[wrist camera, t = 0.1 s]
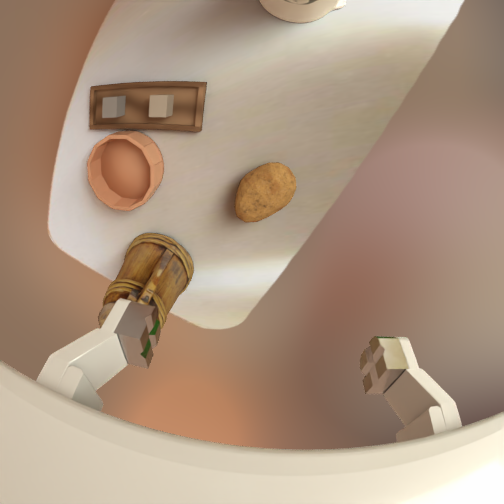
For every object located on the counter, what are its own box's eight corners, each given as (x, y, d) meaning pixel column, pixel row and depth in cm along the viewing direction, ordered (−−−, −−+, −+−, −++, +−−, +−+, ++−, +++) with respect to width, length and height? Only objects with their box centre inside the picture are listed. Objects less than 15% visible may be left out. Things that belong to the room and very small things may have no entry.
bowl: (99, 130, 50) (85, 135, 46) (165, 131, 51) (154, 135, 46) (103, 196, 59) (91, 206, 55) (163, 203, 60) (154, 214, 55)
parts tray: (95, 86, 45) (90, 86, 43) (206, 82, 45) (204, 82, 43) (93, 127, 50) (89, 129, 48) (201, 130, 50) (199, 131, 49)
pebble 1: (111, 96, 46) (102, 97, 43) (125, 95, 46) (117, 96, 43) (111, 115, 48) (102, 118, 45) (124, 115, 48) (116, 117, 45)
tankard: (122, 268, 71) (79, 334, 50) (150, 202, 60) (95, 266, 39) (176, 300, 76) (149, 373, 55) (216, 242, 64) (190, 321, 43)
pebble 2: (157, 94, 46) (150, 95, 43) (174, 94, 46) (167, 95, 43) (155, 115, 48) (148, 117, 45) (172, 115, 48) (165, 117, 45)
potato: (224, 193, 58) (217, 208, 51) (271, 146, 51) (270, 154, 45) (258, 222, 61) (255, 240, 54) (305, 179, 55) (310, 192, 48)
